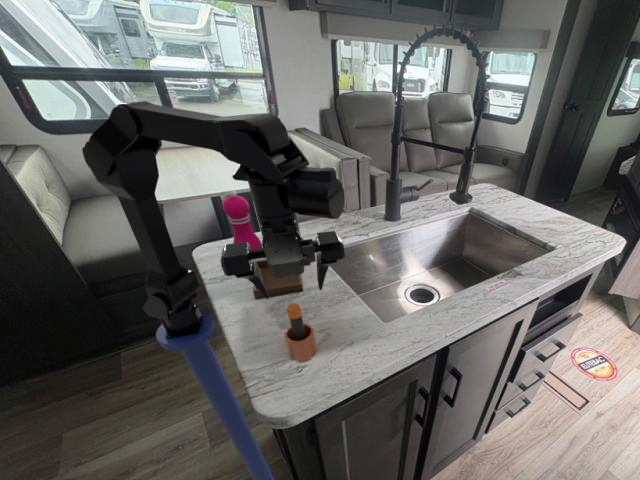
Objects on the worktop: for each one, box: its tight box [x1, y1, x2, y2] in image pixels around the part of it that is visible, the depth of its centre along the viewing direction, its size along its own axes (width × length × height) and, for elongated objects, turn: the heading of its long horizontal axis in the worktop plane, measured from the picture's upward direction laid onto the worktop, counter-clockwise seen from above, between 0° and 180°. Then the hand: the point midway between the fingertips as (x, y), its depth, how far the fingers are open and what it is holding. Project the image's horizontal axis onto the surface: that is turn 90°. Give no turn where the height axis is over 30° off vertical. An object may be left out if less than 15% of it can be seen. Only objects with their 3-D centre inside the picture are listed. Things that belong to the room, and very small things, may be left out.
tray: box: [252, 260, 304, 300], centre depth 83 cm, size 11×14×2 cm
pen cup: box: [283, 322, 318, 364], centre depth 62 cm, size 5×5×6 cm
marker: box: [286, 302, 306, 341], centre depth 60 cm, size 2×2×11 cm
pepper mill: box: [222, 190, 263, 261], centre depth 85 cm, size 7×7×20 cm
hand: (294, 293), depth 58 cm, fingers open, 9 cm apart
